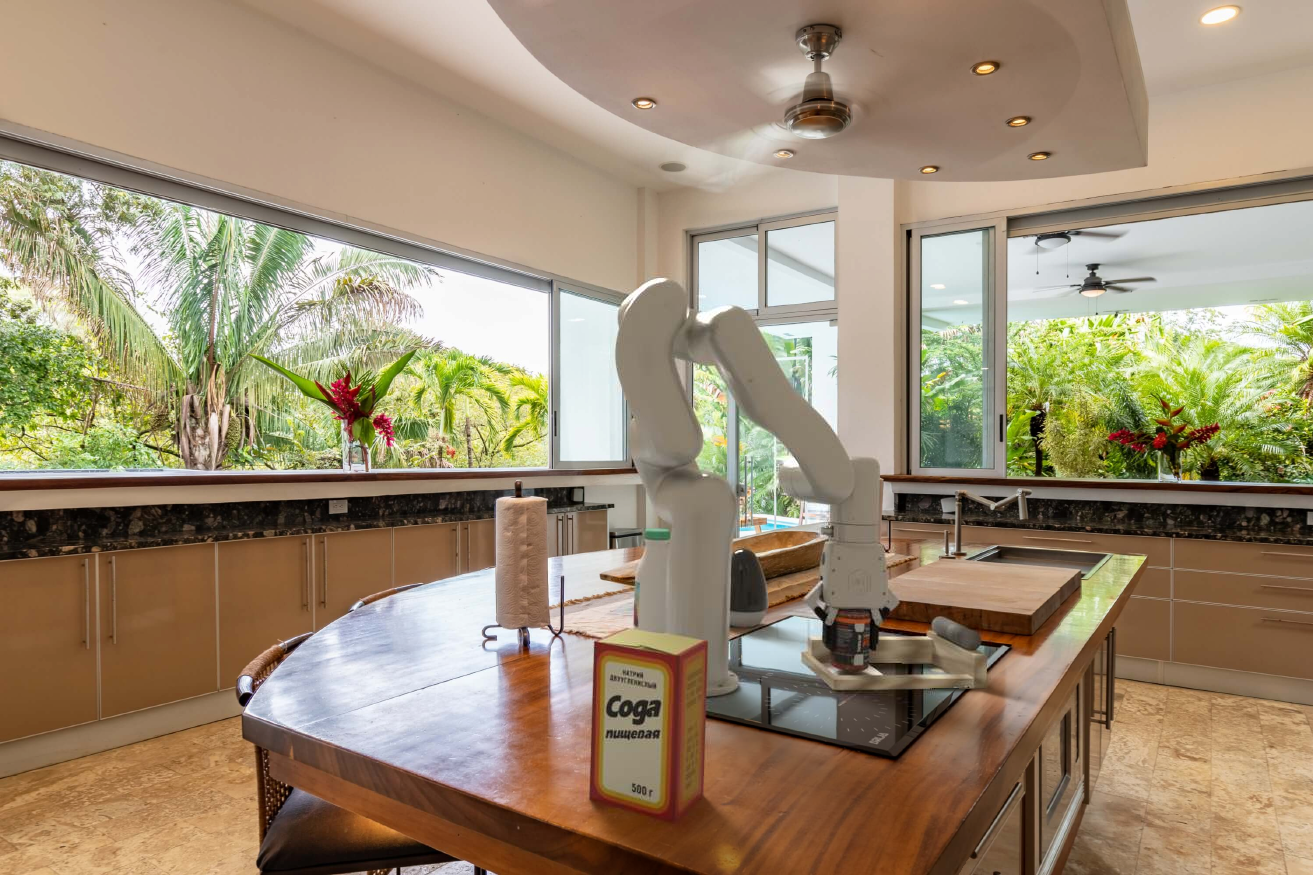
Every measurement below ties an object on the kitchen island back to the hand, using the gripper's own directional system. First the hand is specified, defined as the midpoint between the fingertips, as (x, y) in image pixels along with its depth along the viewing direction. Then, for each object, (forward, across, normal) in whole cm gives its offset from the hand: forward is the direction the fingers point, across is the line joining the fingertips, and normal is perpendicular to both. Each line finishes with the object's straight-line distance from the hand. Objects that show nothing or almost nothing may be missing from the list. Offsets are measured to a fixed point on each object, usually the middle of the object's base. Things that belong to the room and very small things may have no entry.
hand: (850, 647), depth 120 cm
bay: (+4, +7, 0) cm, 8 cm away
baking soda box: (+5, -37, -39) cm, 54 cm away
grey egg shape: (+4, -9, +33) cm, 35 cm away
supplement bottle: (+3, 0, 0) cm, 3 cm away
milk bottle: (+4, -28, +21) cm, 36 cm away
